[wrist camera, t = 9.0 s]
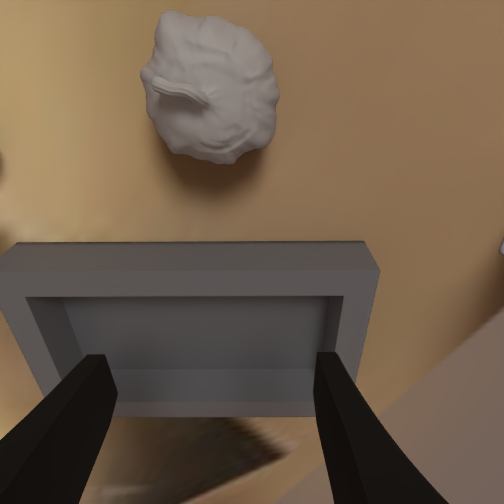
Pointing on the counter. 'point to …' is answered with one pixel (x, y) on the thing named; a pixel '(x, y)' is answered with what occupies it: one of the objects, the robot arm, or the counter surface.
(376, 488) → the robot arm
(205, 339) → the tray
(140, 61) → the counter surface
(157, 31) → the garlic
